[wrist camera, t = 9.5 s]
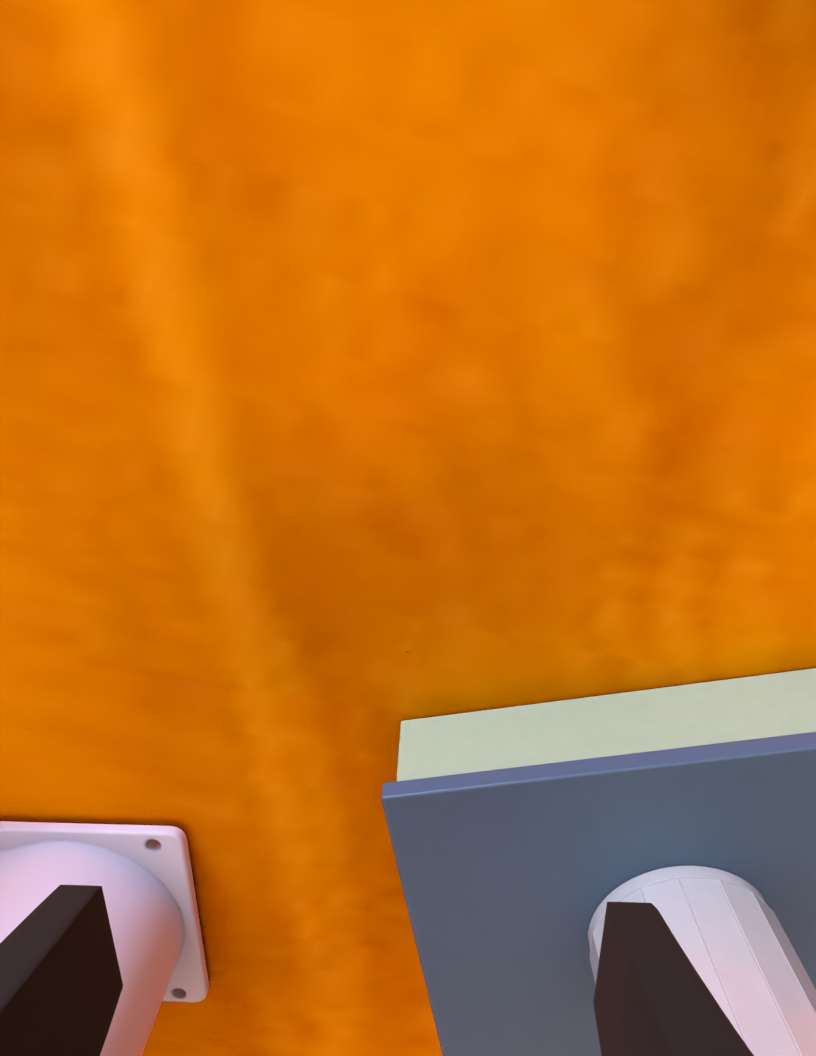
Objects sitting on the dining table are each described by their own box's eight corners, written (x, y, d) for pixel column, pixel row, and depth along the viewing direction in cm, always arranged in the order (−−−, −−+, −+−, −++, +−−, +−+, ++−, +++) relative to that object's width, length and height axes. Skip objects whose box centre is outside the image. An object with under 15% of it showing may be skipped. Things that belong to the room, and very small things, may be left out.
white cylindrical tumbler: (579, 993, 19) (638, 1284, 14) (595, 861, 18) (671, 1133, 12) (754, 999, 19) (887, 1297, 14) (789, 866, 17) (957, 1145, 12)
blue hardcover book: (448, 977, 24) (450, 1088, 21) (389, 713, 21) (380, 798, 17) (866, 939, 23) (940, 1052, 20) (889, 649, 19) (985, 727, 16)
